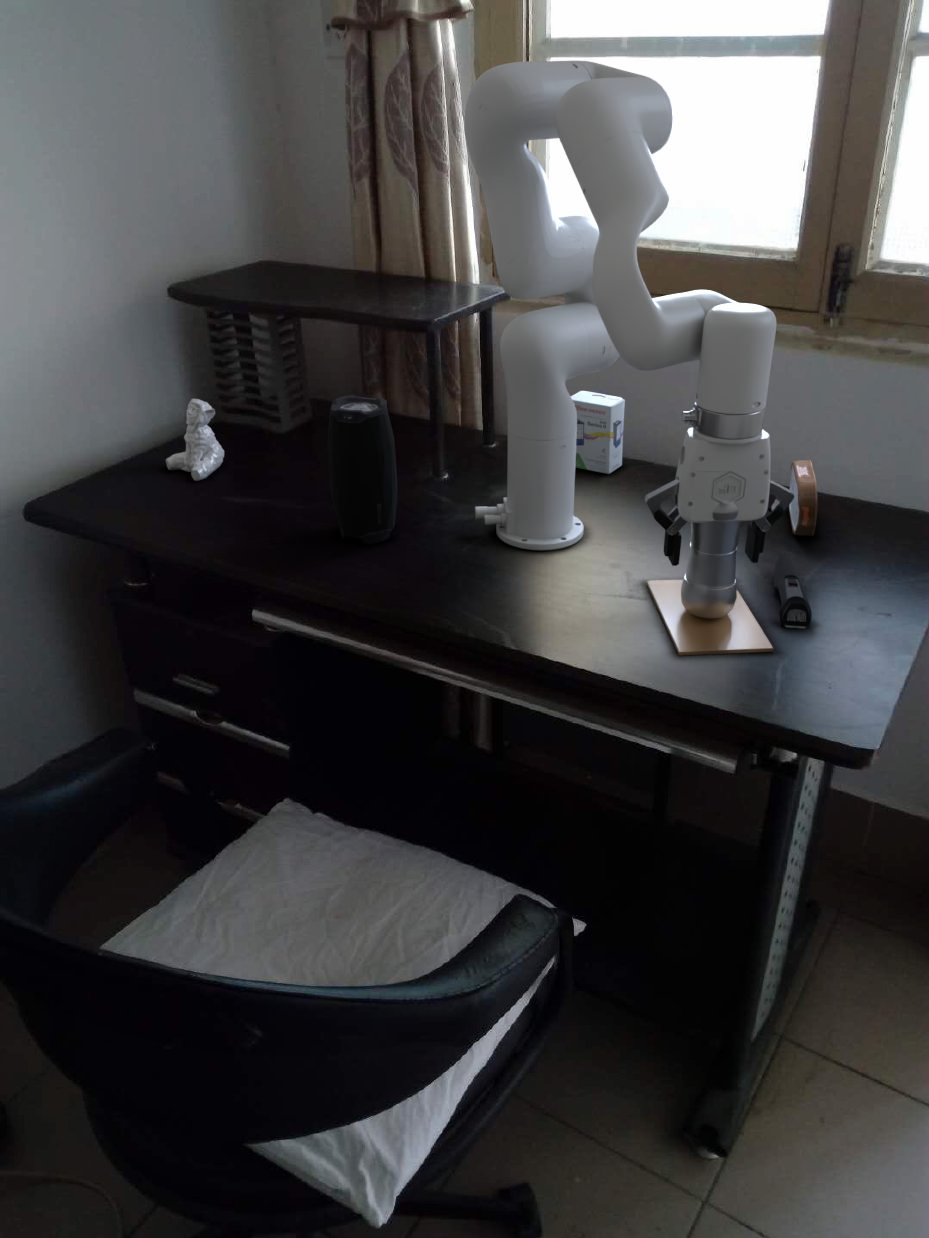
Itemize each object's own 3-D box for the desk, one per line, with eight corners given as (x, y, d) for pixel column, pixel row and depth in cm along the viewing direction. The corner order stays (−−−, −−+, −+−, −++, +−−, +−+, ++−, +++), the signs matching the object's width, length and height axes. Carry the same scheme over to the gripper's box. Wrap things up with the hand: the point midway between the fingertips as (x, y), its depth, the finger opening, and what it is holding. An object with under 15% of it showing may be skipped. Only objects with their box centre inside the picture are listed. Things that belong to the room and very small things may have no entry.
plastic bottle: (731, 628, 120) (752, 470, 111) (674, 620, 122) (689, 464, 113) (737, 604, 126) (757, 451, 116) (682, 596, 128) (697, 445, 118)
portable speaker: (333, 524, 150) (322, 395, 141) (395, 519, 151) (389, 391, 142) (337, 548, 143) (325, 414, 133) (402, 542, 144) (396, 409, 135)
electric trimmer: (797, 573, 134) (801, 551, 133) (811, 629, 121) (815, 605, 120) (768, 571, 135) (771, 549, 134) (779, 626, 122) (782, 603, 120)
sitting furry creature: (163, 469, 171) (151, 400, 165) (205, 455, 177) (195, 388, 171) (197, 482, 166) (186, 411, 160) (239, 467, 171) (230, 398, 165)
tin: (814, 546, 141) (823, 490, 137) (790, 544, 142) (799, 488, 138) (804, 504, 154) (813, 451, 150) (783, 503, 154) (791, 450, 150)
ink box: (622, 466, 169) (627, 397, 163) (608, 475, 165) (612, 405, 160) (577, 456, 173) (580, 389, 168) (562, 465, 170) (565, 397, 164)
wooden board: (678, 655, 116) (679, 651, 116) (646, 583, 132) (646, 580, 132) (773, 651, 117) (773, 648, 117) (729, 580, 132) (729, 577, 132)
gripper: (658, 434, 109) (646, 576, 117) (817, 429, 109) (793, 571, 118) (644, 412, 115) (633, 548, 124) (793, 407, 116) (773, 543, 124)
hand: (711, 559), depth 121 cm, fingers open, 9 cm apart
